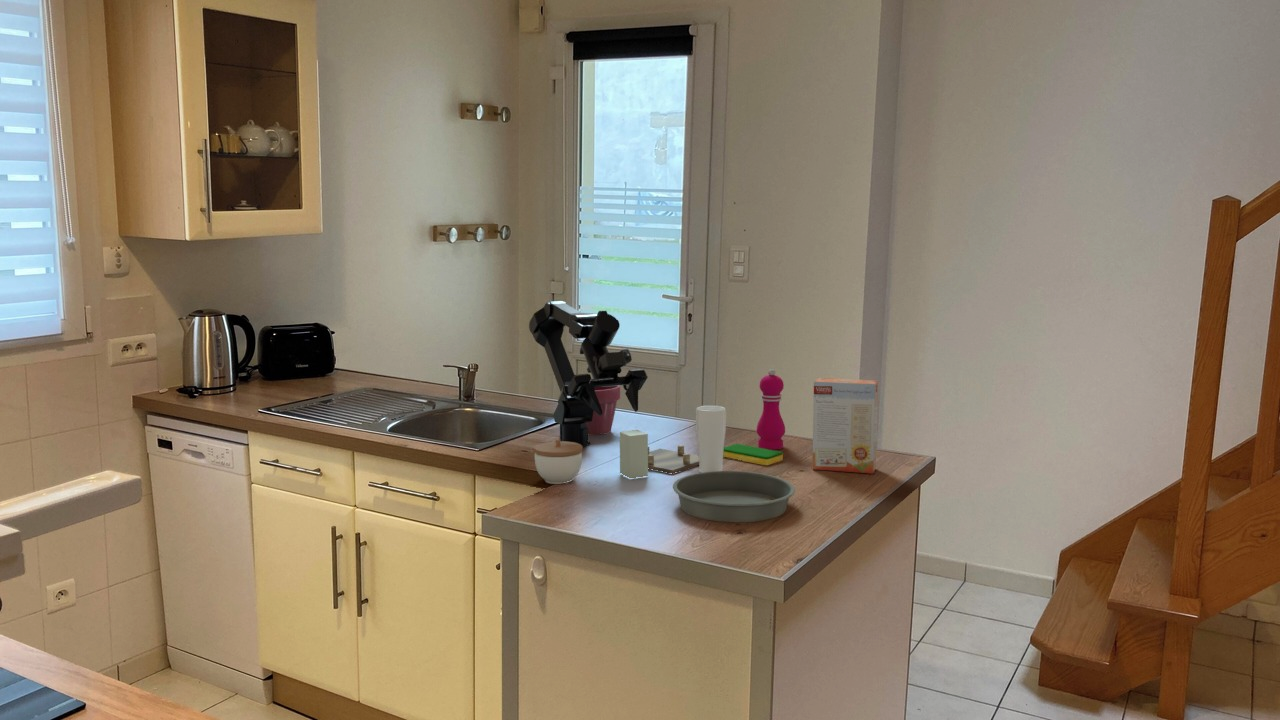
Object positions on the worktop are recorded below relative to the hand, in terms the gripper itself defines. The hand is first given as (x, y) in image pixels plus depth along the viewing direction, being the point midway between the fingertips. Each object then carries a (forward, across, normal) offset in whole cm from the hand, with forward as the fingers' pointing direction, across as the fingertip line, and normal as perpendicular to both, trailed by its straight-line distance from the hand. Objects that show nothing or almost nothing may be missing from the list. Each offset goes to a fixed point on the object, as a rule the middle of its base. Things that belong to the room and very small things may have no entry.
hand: (619, 412), depth 231 cm
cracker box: (+28, +45, -10) cm, 54 cm away
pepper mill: (+10, +43, +9) cm, 45 cm away
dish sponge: (+15, +32, +4) cm, 36 cm away
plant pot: (-17, +12, +37) cm, 42 cm away
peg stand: (+10, +12, +8) cm, 18 cm away
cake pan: (+36, +6, -19) cm, 41 cm away
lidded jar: (+12, -17, +7) cm, 22 cm away
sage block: (+15, -1, +3) cm, 15 cm away
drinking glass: (+19, +16, -1) cm, 25 cm away
